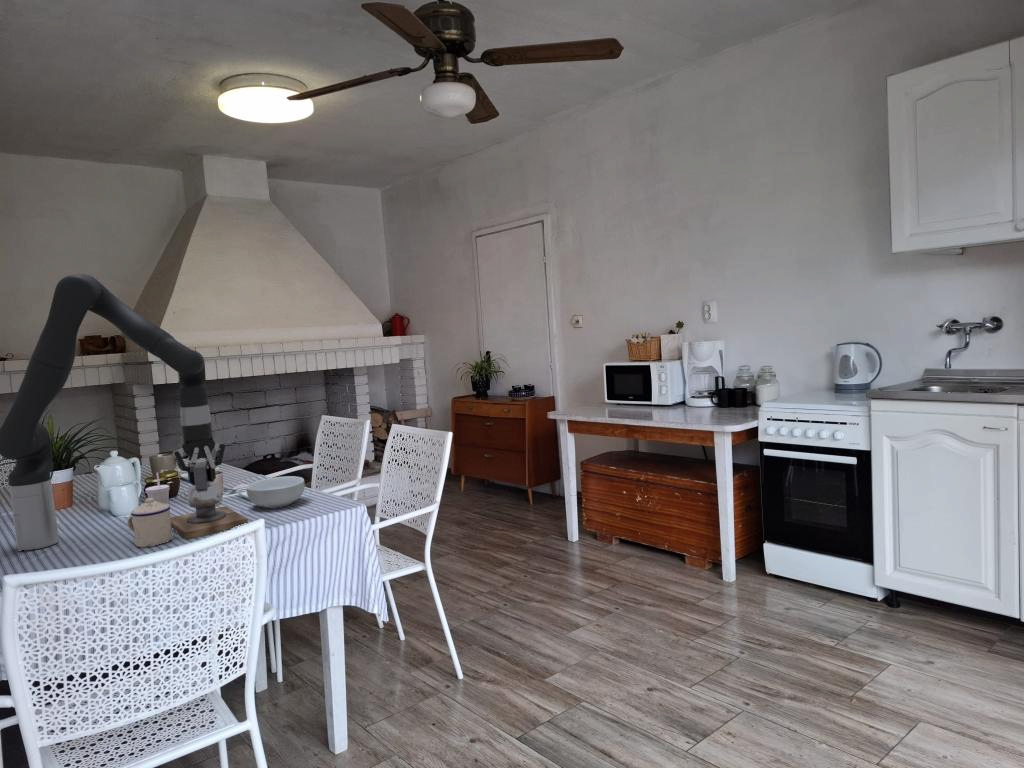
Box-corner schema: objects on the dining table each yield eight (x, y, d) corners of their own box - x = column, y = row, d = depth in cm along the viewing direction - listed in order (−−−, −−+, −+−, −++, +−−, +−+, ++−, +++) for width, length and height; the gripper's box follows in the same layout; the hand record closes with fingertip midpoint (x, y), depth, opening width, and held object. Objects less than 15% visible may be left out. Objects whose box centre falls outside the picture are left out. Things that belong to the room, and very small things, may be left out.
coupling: (219, 504, 191) (215, 465, 190) (187, 509, 188) (183, 469, 187) (221, 497, 200) (217, 459, 199) (191, 501, 197) (187, 463, 196)
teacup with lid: (181, 536, 185) (176, 493, 183) (156, 548, 176) (150, 503, 175) (144, 536, 188) (138, 494, 186) (117, 547, 179) (111, 503, 178)
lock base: (185, 539, 181) (183, 517, 181) (168, 525, 197) (165, 504, 196) (248, 525, 191) (245, 504, 191) (226, 512, 207) (224, 493, 206)
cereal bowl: (236, 512, 207) (233, 488, 206) (271, 497, 223) (269, 475, 222) (284, 513, 202) (281, 489, 201) (317, 498, 217) (315, 476, 217)
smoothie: (163, 522, 200) (157, 475, 199) (143, 522, 202) (138, 475, 200) (177, 516, 207) (172, 470, 205) (159, 516, 208) (153, 470, 207)
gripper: (172, 427, 184) (179, 490, 185) (227, 419, 193) (233, 479, 195) (164, 425, 190) (171, 486, 191) (218, 417, 199) (224, 476, 200)
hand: (202, 482), depth 193 cm, fingers closed on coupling, 4 cm apart
